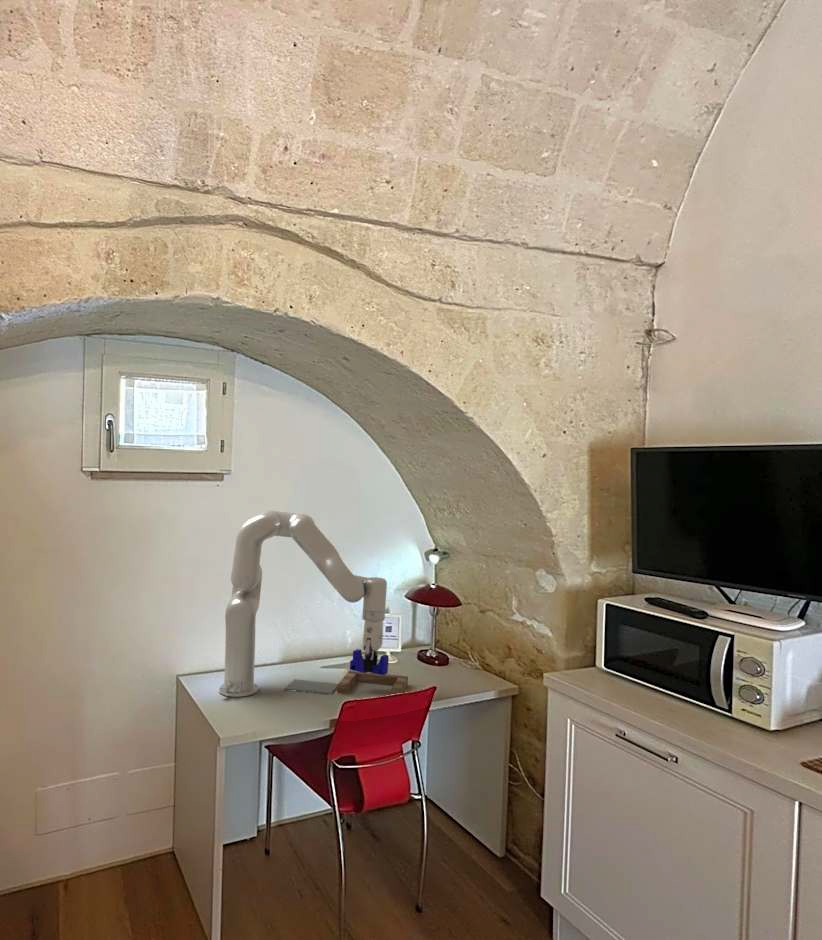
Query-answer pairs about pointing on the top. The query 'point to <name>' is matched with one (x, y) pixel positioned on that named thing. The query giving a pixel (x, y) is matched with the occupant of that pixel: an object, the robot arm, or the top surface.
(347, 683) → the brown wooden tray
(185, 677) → the top surface
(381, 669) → the blue u-shaped cradle
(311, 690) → the rubber mat
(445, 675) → the top surface
